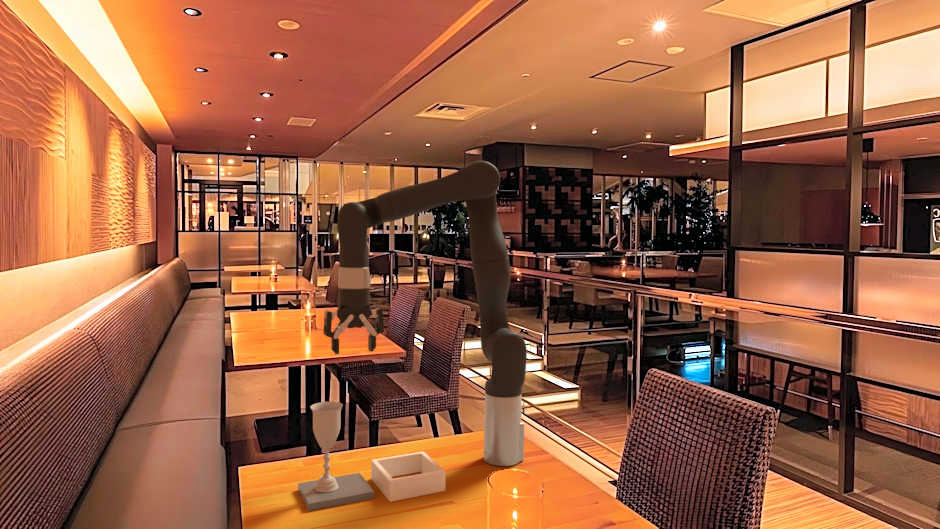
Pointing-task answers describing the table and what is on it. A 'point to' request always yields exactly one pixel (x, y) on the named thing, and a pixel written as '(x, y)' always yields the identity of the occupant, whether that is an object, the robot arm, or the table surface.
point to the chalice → (326, 438)
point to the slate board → (336, 492)
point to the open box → (408, 485)
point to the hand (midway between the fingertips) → (354, 352)
